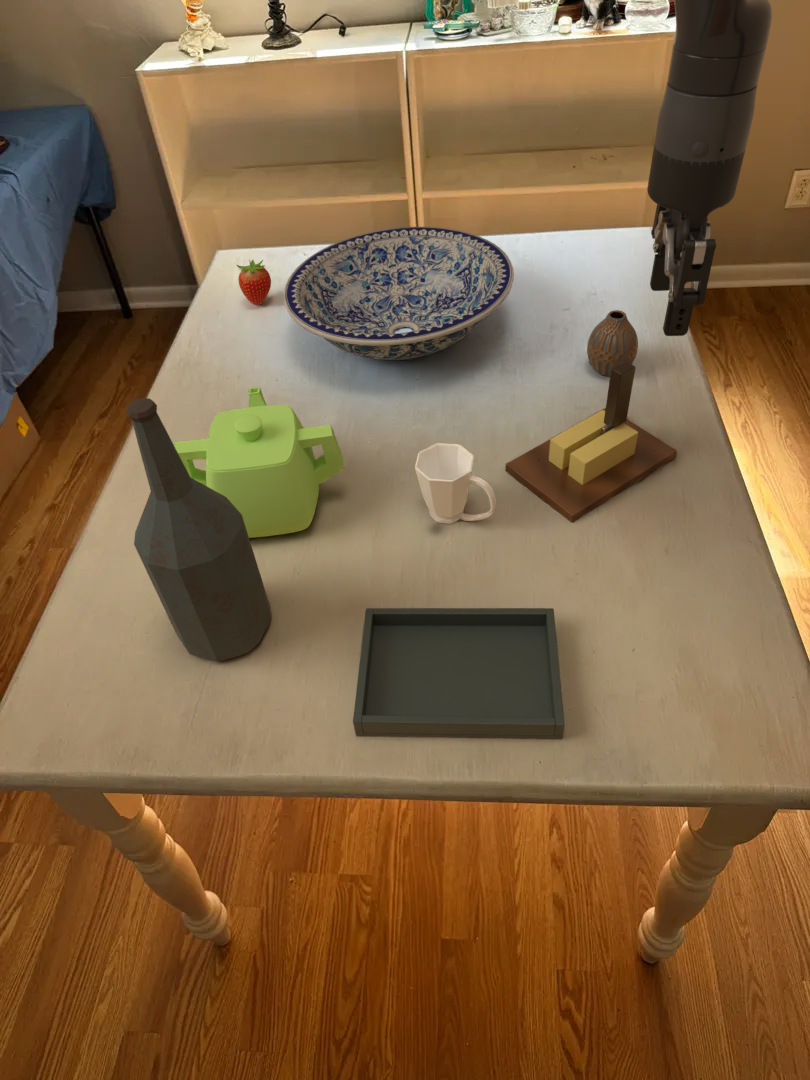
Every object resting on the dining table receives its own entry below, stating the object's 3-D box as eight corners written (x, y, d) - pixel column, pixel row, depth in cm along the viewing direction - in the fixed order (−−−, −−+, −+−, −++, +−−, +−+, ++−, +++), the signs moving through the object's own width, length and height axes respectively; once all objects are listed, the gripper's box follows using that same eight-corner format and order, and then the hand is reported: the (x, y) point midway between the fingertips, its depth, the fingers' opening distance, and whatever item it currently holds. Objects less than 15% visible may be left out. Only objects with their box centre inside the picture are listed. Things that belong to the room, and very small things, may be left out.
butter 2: (619, 444, 100) (623, 422, 97) (634, 453, 98) (638, 432, 96) (567, 474, 97) (570, 453, 94) (582, 485, 95) (585, 463, 93)
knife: (617, 435, 101) (630, 357, 92) (627, 442, 100) (640, 363, 91) (595, 449, 100) (606, 371, 91) (604, 455, 99) (616, 377, 90)
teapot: (199, 455, 106) (171, 375, 97) (345, 438, 106) (332, 357, 97) (185, 555, 93) (151, 473, 84) (351, 536, 94) (337, 452, 84)
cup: (436, 484, 99) (433, 434, 93) (507, 511, 95) (509, 460, 89) (407, 519, 95) (402, 469, 89) (480, 548, 91) (480, 498, 85)
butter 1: (599, 430, 102) (602, 409, 99) (613, 440, 100) (617, 418, 98) (548, 460, 99) (550, 439, 96) (562, 470, 97) (564, 449, 95)
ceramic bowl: (347, 268, 139) (340, 212, 132) (536, 293, 129) (540, 234, 122) (254, 378, 118) (239, 319, 110) (472, 418, 108) (471, 356, 100)
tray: (551, 623, 83) (553, 607, 81) (562, 739, 74) (564, 725, 72) (368, 622, 85) (365, 607, 83) (356, 736, 75) (352, 722, 73)
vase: (643, 365, 113) (652, 311, 107) (617, 388, 110) (626, 333, 103) (601, 349, 116) (608, 296, 110) (575, 371, 113) (581, 317, 107)
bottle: (263, 580, 90) (194, 357, 68) (281, 646, 83) (211, 423, 61) (173, 607, 88) (73, 386, 66) (185, 676, 82) (78, 457, 60)
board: (606, 413, 106) (607, 406, 105) (676, 457, 99) (677, 450, 98) (505, 471, 100) (505, 463, 99) (572, 522, 93) (572, 515, 92)
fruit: (253, 294, 135) (243, 250, 129) (280, 297, 134) (271, 253, 128) (238, 310, 132) (227, 265, 126) (266, 314, 130) (256, 269, 124)
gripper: (766, 173, 62) (720, 350, 73) (728, 108, 71) (692, 274, 83) (668, 177, 62) (638, 351, 74) (643, 112, 72) (620, 276, 84)
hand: (667, 310), depth 79 cm, fingers open, 8 cm apart
